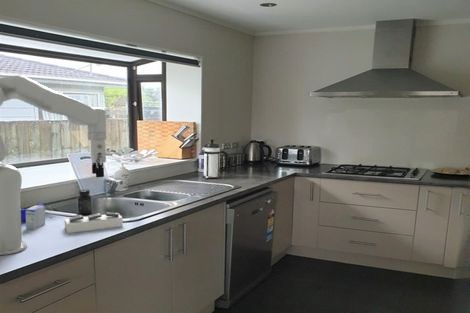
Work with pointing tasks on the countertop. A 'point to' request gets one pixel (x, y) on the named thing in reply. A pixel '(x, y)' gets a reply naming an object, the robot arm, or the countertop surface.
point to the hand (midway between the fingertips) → (97, 175)
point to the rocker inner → (76, 218)
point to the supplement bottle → (84, 203)
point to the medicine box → (35, 217)
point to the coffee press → (213, 160)
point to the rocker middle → (94, 216)
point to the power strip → (92, 223)
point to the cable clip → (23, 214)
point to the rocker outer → (112, 214)
